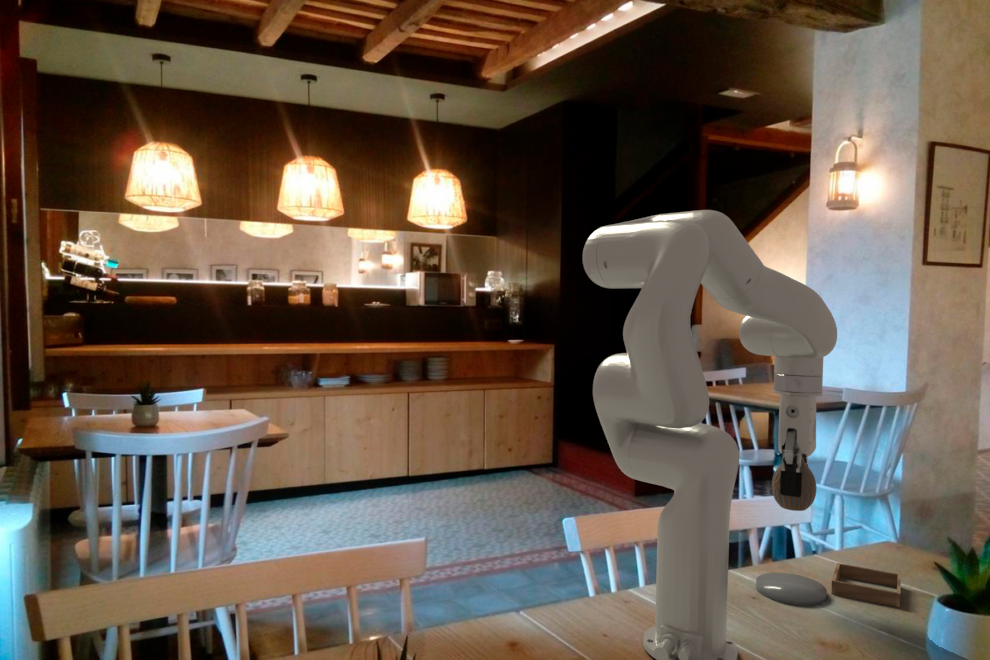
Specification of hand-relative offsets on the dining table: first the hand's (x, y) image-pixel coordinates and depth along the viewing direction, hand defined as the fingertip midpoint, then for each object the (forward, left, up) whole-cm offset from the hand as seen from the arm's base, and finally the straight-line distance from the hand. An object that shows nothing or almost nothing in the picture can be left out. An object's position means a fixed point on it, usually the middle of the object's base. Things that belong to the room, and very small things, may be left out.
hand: (793, 490), depth 118 cm
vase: (0, 0, -3) cm, 3 cm away
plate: (0, 0, -17) cm, 17 cm away
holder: (+8, -11, -17) cm, 22 cm away
